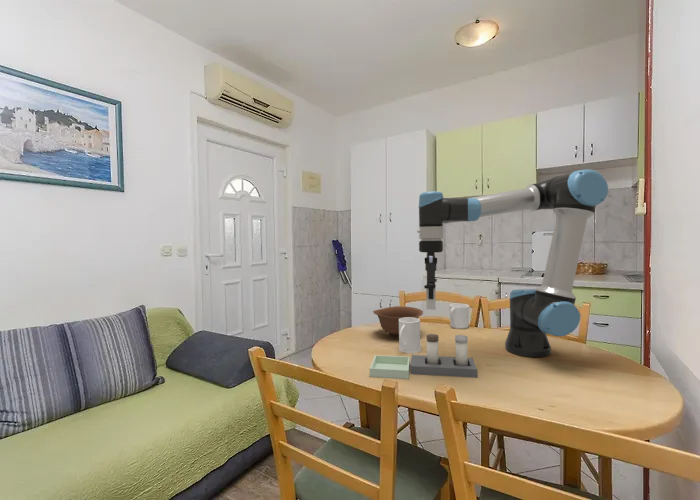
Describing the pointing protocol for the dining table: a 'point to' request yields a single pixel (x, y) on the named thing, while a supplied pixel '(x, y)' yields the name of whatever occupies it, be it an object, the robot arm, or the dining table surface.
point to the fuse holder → (447, 363)
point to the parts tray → (390, 367)
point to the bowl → (395, 318)
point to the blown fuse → (432, 349)
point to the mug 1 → (409, 335)
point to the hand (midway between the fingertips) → (430, 305)
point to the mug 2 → (459, 315)
